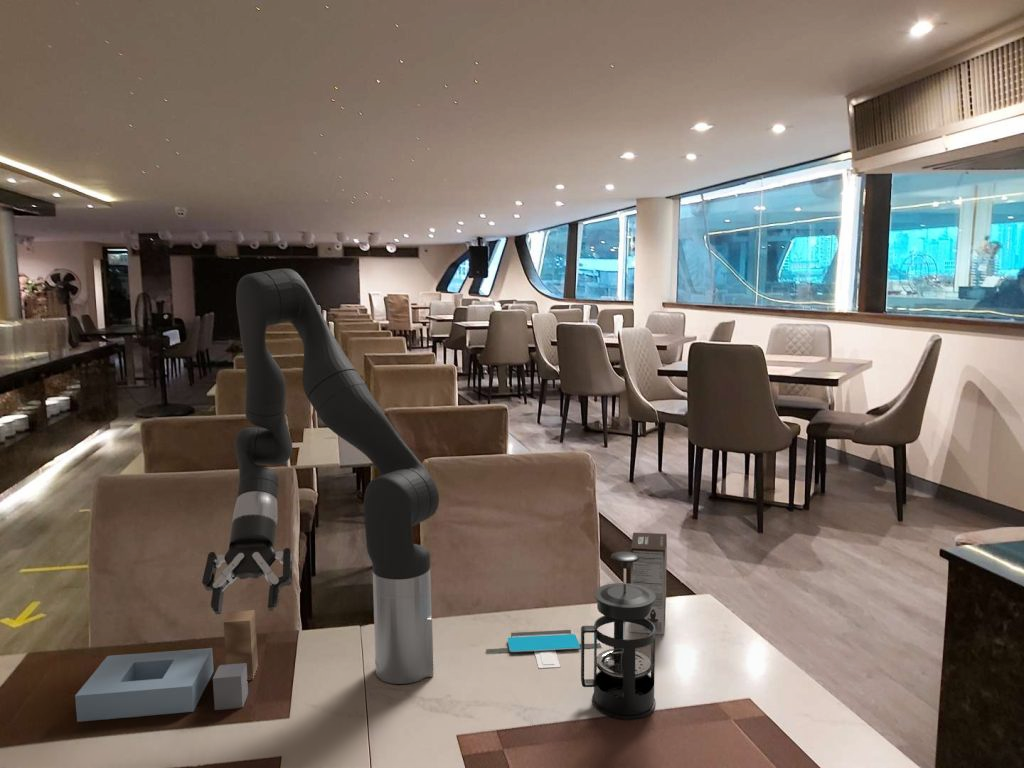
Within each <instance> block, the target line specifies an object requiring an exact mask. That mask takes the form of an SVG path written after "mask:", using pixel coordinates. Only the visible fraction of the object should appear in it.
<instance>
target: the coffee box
mask: <svg viewBox="0 0 1024 768" xmlns="http://www.w3.org/2000/svg"><path fill="white" fill-rule="evenodd" d="M667 536H668V535H667V533H658V532H657V533H654V532H633V533H632V539H631V545H630V552H631V553H635V554H637V555H638V556H639V557H640V559H639V560H638V561H636V562H631V563H630V584H635V585H640V586H643V587H646V588H648V589H650V590H651V591H652V592H654V594H655V596H656V599H655V602H654V603H653V604H652V606H651V610H650V612H649V614H648V616H646V617H645V618H646V619H648V620H649V621H651V622H652V623H653V624H654V626H655V635H663V636H664V635H665V631H666V611H667V610H666V608H667V607H666V606H667V605H666V603H667V602H666V601H667V560H668V558H667V557H668V556H667V555H668V553H667V551H668V550H667V548H668V546H667V545H668V544H667V543H668V542H667V541H668V539H667ZM629 623H630V622H629ZM629 627H630V628H629V630H630V632H631V633H638V634H648V635H650V634H651V633H652V632H651V631H650V630H649V629H648V628H646V627H644V626H642V625H639V624H635V623H630V624H629Z"/></svg>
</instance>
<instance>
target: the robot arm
mask: <svg viewBox="0 0 1024 768" xmlns="http://www.w3.org/2000/svg"><path fill="white" fill-rule="evenodd" d="M236 286H237V287H236V292H235V295H236V298H235V300H236V301H235V303H236V312H237V313H236V314H237V319H238V326H239V328H238V329H239V334H240V335H239V336H240V341H241V347H242V354H243V359H244V367H245V380H246V381H245V382H246V383H245V385H246V387H245V418H246V420H247V421H248V422H249V423H250V424H251V425H254V426H256V427H250V426H249V427H244V428H241V430H240V431H238V432H237V434H236V436H235V438H234V451H235V456H236V461H237V465H238V466H237V467H238V476H239V479H238V480H239V481H238V482H239V483H238V489H237V497H236V501H235V506H234V508H233V514H232V524H231V529H230V538H229V543H228V544H229V545H228V550H227V552H226V553H225V554H216V553H215V552H214V551H211V552H209V553H208V554H207V559H206V561H205V562H206V564H205V566H204V572H203V577H202V581H201V583H202V586H203V587H204V590H206V591H212V594H211V600H210V607H211V610H212V611H213V612H214V614H215V615H221V614H222V608H223V604H224V603H223V601H224V595H225V594H224V591H225V590H226V588H228V586H229V585H232V584H233V583H234V582H235V581H236V580H237V578H238V579H239V580H246V579H248V578H251V579H259V578H260V577H261V576H263V577H264V578H265V579H266V581H267V582H268V583H269V584H270V585H269V590H268V591H269V592H268V600H267V608H268V611H269V612H274V611H275V608H278V606H279V604H280V603H279V602H280V591H281V589H282V588H283V587H285V586H286V587H289V586H291V585H292V583H293V554H292V551H291V549H290V548H289V547H286V548H284V549H283V550H279V551H275V543H276V533H277V532H276V531H277V525H278V511H279V510H278V499H279V497H278V496H279V485H280V476H279V475H278V472H276V471H275V470H273V469H270V468H269V467H265V466H266V465H267V466H282V465H285V464H286V463H287V462H288V461H289V460H290V459H291V456H292V454H293V442H292V437H291V435H290V431H289V427H288V423H287V420H286V400H287V399H286V395H287V383H286V378H285V375H284V373H283V371H282V369H281V367H280V366H279V364H278V363H277V362H276V360H275V358H274V357H273V356H272V354H271V352H270V351H269V349H268V347H267V342H266V334H267V333H266V332H267V328H268V326H274V325H278V324H282V323H288V322H289V323H290V324H292V326H293V327H294V328H295V330H296V331H297V333H298V335H299V338H300V339H301V341H302V344H303V360H302V361H303V362H302V379H301V380H302V388H303V390H304V391H303V392H304V394H305V396H306V398H307V399H308V401H309V402H310V404H311V406H312V407H313V409H314V411H315V413H317V415H318V417H319V418H320V420H321V421H322V422H323V424H324V425H325V426H326V427H327V428H328V429H330V431H331V432H333V433H334V434H336V435H337V436H338V437H339V438H341V439H342V440H344V441H345V442H346V443H348V444H349V445H351V446H353V447H354V448H356V449H357V450H358V451H359V452H361V453H362V454H364V456H366V457H367V458H368V459H369V460H370V461H371V463H372V464H373V466H375V469H376V470H377V471H378V473H379V474H380V475H379V476H376V477H374V478H373V479H372V480H370V482H369V483H368V484H367V486H366V489H365V492H364V496H363V518H364V519H363V520H364V521H363V522H364V530H365V531H364V532H365V542H366V549H367V554H368V557H369V558H370V561H371V564H372V567H371V568H372V593H373V595H372V596H373V617H374V619H373V621H374V622H373V625H374V651H375V652H374V655H375V657H374V658H375V660H374V661H375V662H374V663H375V674H376V677H377V678H379V679H380V680H381V681H383V682H386V683H388V684H393V685H394V684H395V685H405V684H406V685H407V684H411V683H416V682H418V681H421V680H424V679H426V678H429V677H430V678H431V677H434V645H433V644H434V643H433V642H434V640H433V638H434V635H433V633H434V632H433V616H432V583H431V578H432V577H431V576H432V575H431V553H430V551H429V550H428V549H427V548H426V547H425V546H423V545H420V544H419V543H418V544H417V543H414V536H413V534H414V533H413V526H416V525H417V524H420V523H422V522H425V521H426V520H428V519H431V518H432V517H433V516H434V515H435V514H436V512H437V510H438V509H439V504H440V497H439V491H438V487H437V484H436V483H435V480H434V479H433V477H432V476H431V474H430V473H429V471H428V470H427V469H426V467H425V466H424V465H423V463H422V462H421V461H420V460H419V458H418V457H417V456H416V455H415V454H414V452H413V451H412V450H411V449H410V447H409V446H408V445H407V444H406V443H405V441H404V440H403V439H402V437H401V436H400V434H399V433H398V432H397V431H396V429H395V427H394V426H393V425H392V423H391V421H389V419H388V417H387V416H386V414H385V413H384V412H383V410H382V408H381V407H380V406H379V404H378V402H377V401H376V400H375V398H374V397H373V394H372V393H371V392H370V390H369V388H368V386H367V385H366V383H365V381H364V380H363V378H362V376H360V373H359V372H358V371H357V369H356V367H354V365H353V364H352V363H351V361H350V359H349V358H348V356H347V355H346V353H345V351H344V349H343V348H342V347H341V345H340V344H339V342H338V340H337V339H336V337H335V336H334V333H333V332H332V330H331V328H330V326H329V325H328V323H327V321H326V319H325V317H324V315H323V314H322V312H321V309H320V308H319V306H318V304H317V302H316V300H315V298H314V296H313V294H312V291H311V290H310V289H309V286H308V285H307V283H306V281H305V280H304V279H303V278H302V276H301V275H299V273H298V272H297V271H295V270H294V269H292V268H277V269H271V270H265V271H259V272H252V273H248V274H245V275H244V276H242V277H241V278H240V279H239V280H238V283H237V285H236ZM262 465H264V466H262ZM276 560H278V561H279V563H280V564H281V565H282V576H279V577H278V576H277V575H276V574H275V572H274V571H273V570H272V568H271V566H272V565H273V564H274V563H275V561H276ZM223 563H226V565H227V566H226V567H225V568H224V569H223V571H222V572H221V574H220V575H219V577H217V579H216V574H217V569H218V568H220V567H221V566H222V564H223ZM215 579H216V580H215Z"/></svg>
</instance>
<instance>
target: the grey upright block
mask: <svg viewBox="0 0 1024 768" xmlns="http://www.w3.org/2000/svg"><path fill="white" fill-rule="evenodd" d="M248 681H249V680H248ZM248 681H247V663H240V664H228V665H226V664H219V665H218V667H217V669H216V671H215V673H214V675H213V677H212V689H213V701H214V702H213V703H214V711H217V710H218V711H219V710H220V711H221V710H231V709H241V708H242V707H243V708H244V705H245V702H246V700H247V697H248V696H249V695H248V694H249V687H248V686H249V685H248V684H249V683H248Z"/></svg>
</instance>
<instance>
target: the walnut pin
mask: <svg viewBox="0 0 1024 768" xmlns="http://www.w3.org/2000/svg"><path fill="white" fill-rule="evenodd" d="M256 623H257V622H256V610H255V609H250V610H249V609H248V610H236V611H235V610H234V611H229V612H228V614H227V615H226V617H225V620H224V621H223V631H224V636H223V637H224V652H225V665H228V664H240V663H247V679H253V678H254V679H255V677H254V675H255V676H256V674H257V672H256V670H257V671H258V669H257V667H258V668H259V663H258V662H259V661H258V641H257V640H258V639H257V627H256V626H257V624H256ZM255 673H256V674H255ZM254 679H253V680H254Z"/></svg>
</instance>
